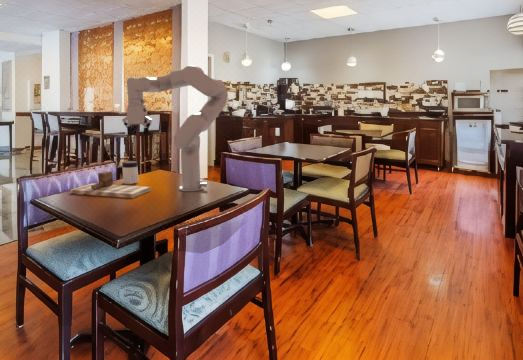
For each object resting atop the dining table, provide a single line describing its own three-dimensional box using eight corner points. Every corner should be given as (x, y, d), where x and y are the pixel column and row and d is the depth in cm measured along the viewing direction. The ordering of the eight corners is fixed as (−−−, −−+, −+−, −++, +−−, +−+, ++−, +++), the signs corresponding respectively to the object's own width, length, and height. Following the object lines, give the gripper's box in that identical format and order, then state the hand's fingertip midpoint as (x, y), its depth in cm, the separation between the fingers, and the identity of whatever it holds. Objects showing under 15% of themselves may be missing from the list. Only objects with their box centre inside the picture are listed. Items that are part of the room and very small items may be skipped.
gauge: (113, 184, 203) (111, 171, 202) (96, 189, 191) (95, 176, 189) (106, 184, 204) (105, 171, 203) (89, 189, 192) (88, 175, 190)
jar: (126, 184, 213) (125, 163, 210) (120, 182, 218) (118, 162, 216) (141, 182, 219) (140, 162, 216) (135, 180, 224) (133, 160, 222)
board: (150, 190, 198) (150, 186, 198) (132, 198, 183) (132, 193, 183) (92, 186, 208) (92, 183, 208) (70, 193, 193) (70, 189, 193)
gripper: (154, 102, 199) (156, 135, 202) (125, 102, 203) (128, 134, 207) (146, 102, 191) (148, 136, 195) (117, 102, 196) (119, 135, 200)
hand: (138, 135), depth 201 cm, fingers open, 9 cm apart
